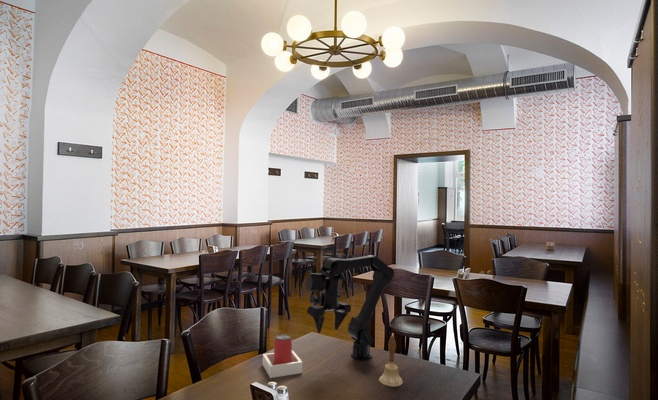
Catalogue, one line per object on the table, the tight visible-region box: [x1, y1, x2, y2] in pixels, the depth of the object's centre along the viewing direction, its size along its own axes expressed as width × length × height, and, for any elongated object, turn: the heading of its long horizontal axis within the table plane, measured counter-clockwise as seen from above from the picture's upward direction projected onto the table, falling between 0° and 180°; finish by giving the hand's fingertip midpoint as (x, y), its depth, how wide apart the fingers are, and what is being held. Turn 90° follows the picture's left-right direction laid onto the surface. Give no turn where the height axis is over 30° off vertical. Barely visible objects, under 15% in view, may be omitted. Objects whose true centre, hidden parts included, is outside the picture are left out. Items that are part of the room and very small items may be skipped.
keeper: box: [262, 350, 303, 379], centre depth 143 cm, size 12×12×4 cm
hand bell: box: [378, 335, 404, 388], centre depth 135 cm, size 8×8×16 cm
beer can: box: [273, 333, 293, 365], centre depth 144 cm, size 7×7×12 cm
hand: (327, 331), depth 149 cm, fingers open, 9 cm apart
